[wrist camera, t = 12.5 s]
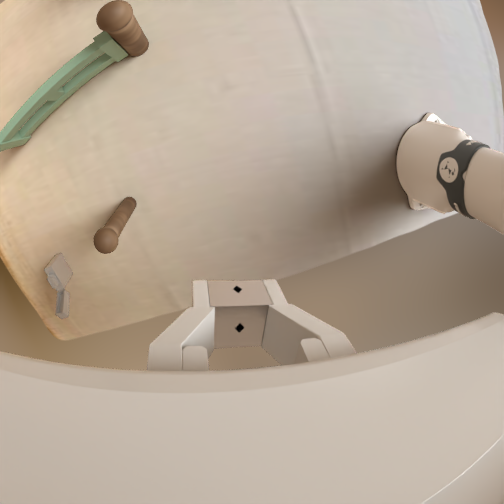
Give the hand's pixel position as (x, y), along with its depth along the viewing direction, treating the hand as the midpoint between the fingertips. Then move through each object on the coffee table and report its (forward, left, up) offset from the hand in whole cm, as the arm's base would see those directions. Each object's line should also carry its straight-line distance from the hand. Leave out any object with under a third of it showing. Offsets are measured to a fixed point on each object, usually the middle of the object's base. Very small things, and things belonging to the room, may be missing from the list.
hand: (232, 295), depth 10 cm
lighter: (+22, +16, -29) cm, 40 cm away
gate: (+19, -11, -28) cm, 35 cm away
